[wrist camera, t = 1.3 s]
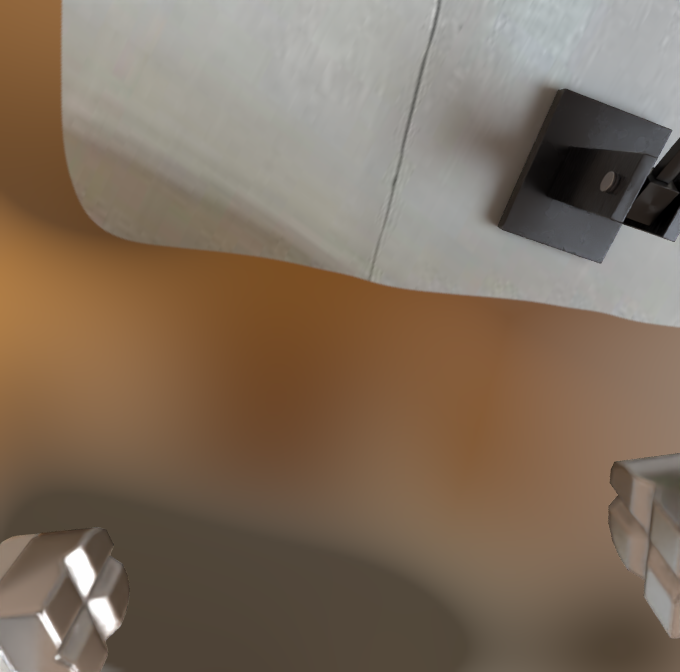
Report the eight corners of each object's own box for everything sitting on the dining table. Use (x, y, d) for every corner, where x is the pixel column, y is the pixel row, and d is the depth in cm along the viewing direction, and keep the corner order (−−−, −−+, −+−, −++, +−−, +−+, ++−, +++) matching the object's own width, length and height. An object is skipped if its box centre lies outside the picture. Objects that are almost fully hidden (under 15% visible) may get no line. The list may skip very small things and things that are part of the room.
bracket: (557, 89, 43) (641, 75, 31) (662, 129, 44) (781, 131, 32) (497, 226, 47) (549, 260, 35) (593, 260, 48) (676, 303, 36)
